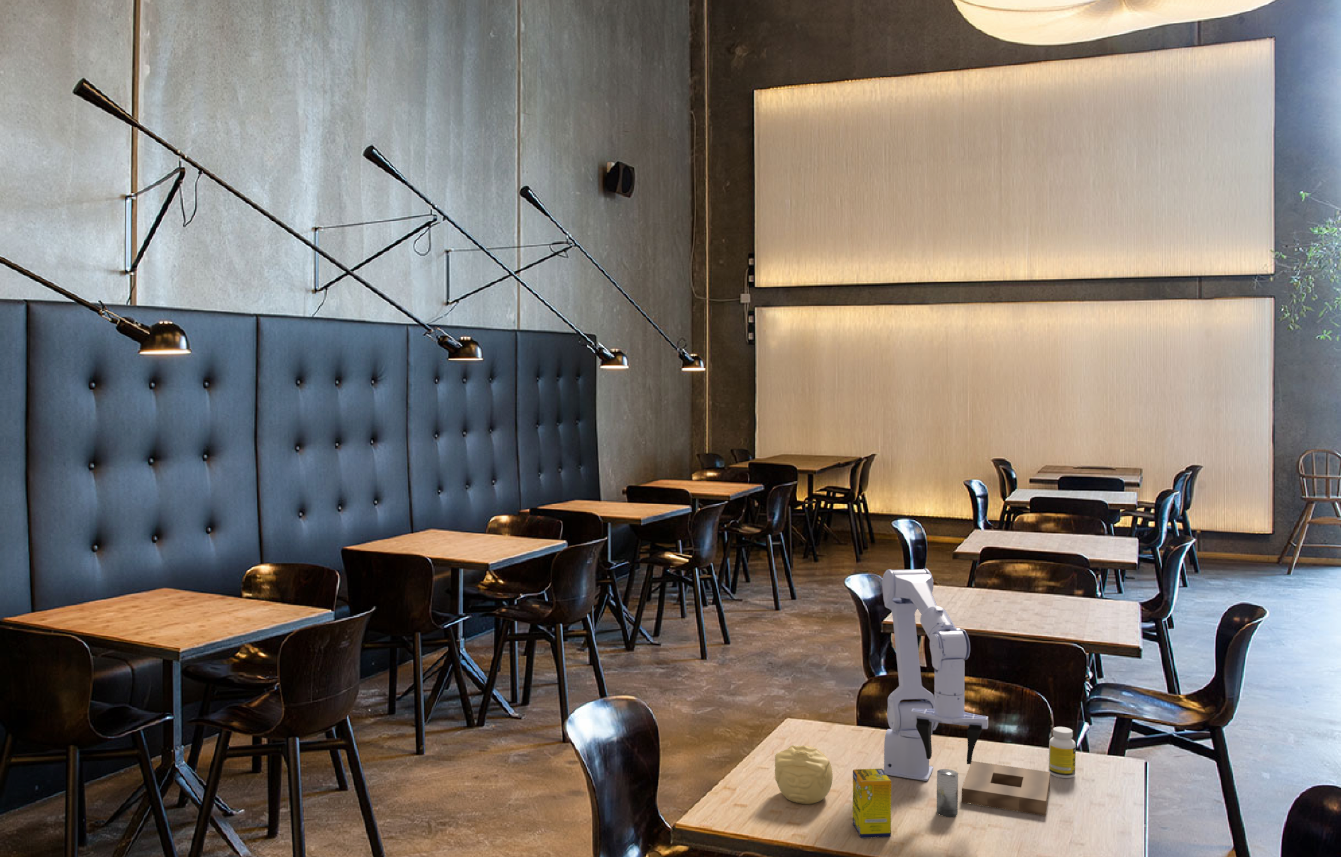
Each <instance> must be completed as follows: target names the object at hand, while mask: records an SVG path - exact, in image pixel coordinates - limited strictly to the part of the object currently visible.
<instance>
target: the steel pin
mask: <svg viewBox="0 0 1341 857" xmlns="http://www.w3.org/2000/svg"><path fill="white" fill-rule="evenodd" d="M958 797H959V773H958V772H957V771H955V770H953V769H949V768H941V769H938V770H937V771H936V813H937V815H939V814H940V816H941V815H943V816H942V817H944V816H946V818H954V817H953V816H955V817H956V815H959V812H958V810H959V808H958V807H959V806H958V804H959V803H958V802H959V798H958Z"/></svg>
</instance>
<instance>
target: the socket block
mask: <svg viewBox="0 0 1341 857" xmlns="http://www.w3.org/2000/svg"><path fill="white" fill-rule="evenodd" d="M966 772H967V773H966V775H965V779H964V781H963V784H962V786H961V803H962V804H967V803H971V804H970V805H973V804H974V806H975V805H976V806H979V807H985V808H986V807H987V808H994V809H1000V810H1004V811H1005V810H1006V811H1013V812H1017V811H1018V813H1025V814H1030V815H1037V816H1044V817H1046V816H1047V810H1048V804H1049V797H1050V789H1051V774H1050V772H1049V771H1046V770H1038V769H1032V768H1031V769H1030V768H1024V767H1018V766H1012V765H1011V766H1010V765H1002V764H997V763H988V762H982V761H975V760H972V762H971V764H969V766H968V769H967V771H966Z"/></svg>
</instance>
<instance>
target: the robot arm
mask: <svg viewBox="0 0 1341 857" xmlns="http://www.w3.org/2000/svg"><path fill="white" fill-rule="evenodd" d="M881 586H882V587H881V588H882V596H883V597H882V598H883V603H884V608H886V609H889V610H890V611H891V617H892V624H893V625H892V626H893V633H894V634H893V635H894V643H895V644H894V645H895V655H896V656H895V657H896V664H897V676H898V686H897V687H896V689H894V690H893V691H892V692H891V693H890V694H889V695H888V697H887V709H886V710H887V711H886V718H887V723H888V726H889V728H887V730H885V731H886V732H885V735H884V742H883V743H884V745H883V746H884V748H883V749H884V750H883V751H884V752H883V770H884V772H885V774H886V775H887V776H890V777H891V776H892V777H898V778H905V779H911V780H918V781H924V782H927V781H929V779H930V776H931V775H932V772H933V770H934V766H932V765H930V760H931V758H932V757H933V756H932V755H933V754H932V753H933V748H932V735H933V731H936V729H937V727H938V725H939V723H940V724H949V725H955V726H956V725H958V726H967V730H966V734H967V752H966V765H970V764H971V762H972V761H973V754H974V749H975V746H976V744H977V741H979V740H978V739H979V738H980V736H981V733H982V731H983V730H988V728H989V716H986V715H980V714H975V713H970V712H966V711H965V669H966V668H965V663H966V662H965V661H966V660H968V659H969V657H970V653H971V642H970V638H969V635H968V633H967V631H966V630H965V629H963V628H960V627H956V625H955V623H954V622H953V620H952V618H951V617H950V616H949V613H948V612H947V610H946V609H945V608H943V607H942V606H939V605H937V602H936V600H935V598H934V596H933V592H934V579H933V575H932V573H931V571H930V570H929V569H928V568H923V569H922V568H921V569H891V568H890V569H886V570H885V571H884V573H883V575H882V580H881ZM917 610H918V612H919V613H920V614H921V615H920V618H919V621H920V625H921V627H922V628H923V630H924V631H925V634H926V636H927V637H928V639H929V649H930V650H929V651H930V655H931V664H932V667H933V669H934V679H933V680H934V690H933V691H934V694H933V693H932V692H931V691H929V690H927V688H925V687H924V686H923V682H922V674H921V673H922V672H921V663H920V654H919V652H920V651H919V645H918V644H919V643H918V642H919V641H918V636H917V635H918V634H917V633H918V632H917V622H916V615H915V614H916V612H917ZM903 700H920V701H903Z"/></svg>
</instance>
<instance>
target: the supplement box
mask: <svg viewBox="0 0 1341 857" xmlns="http://www.w3.org/2000/svg"><path fill="white" fill-rule="evenodd" d="M852 825H853V826H854V828H855V829H856V832H857V834H858V836H859V837H860V838H861V839H868V838H869V839H871V837H872V838H873V837H877V838H891V837H892V780H891V779H890V777H889V775H886V774H885V772H884V768H856V769H852ZM873 839H874V838H873Z"/></svg>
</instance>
